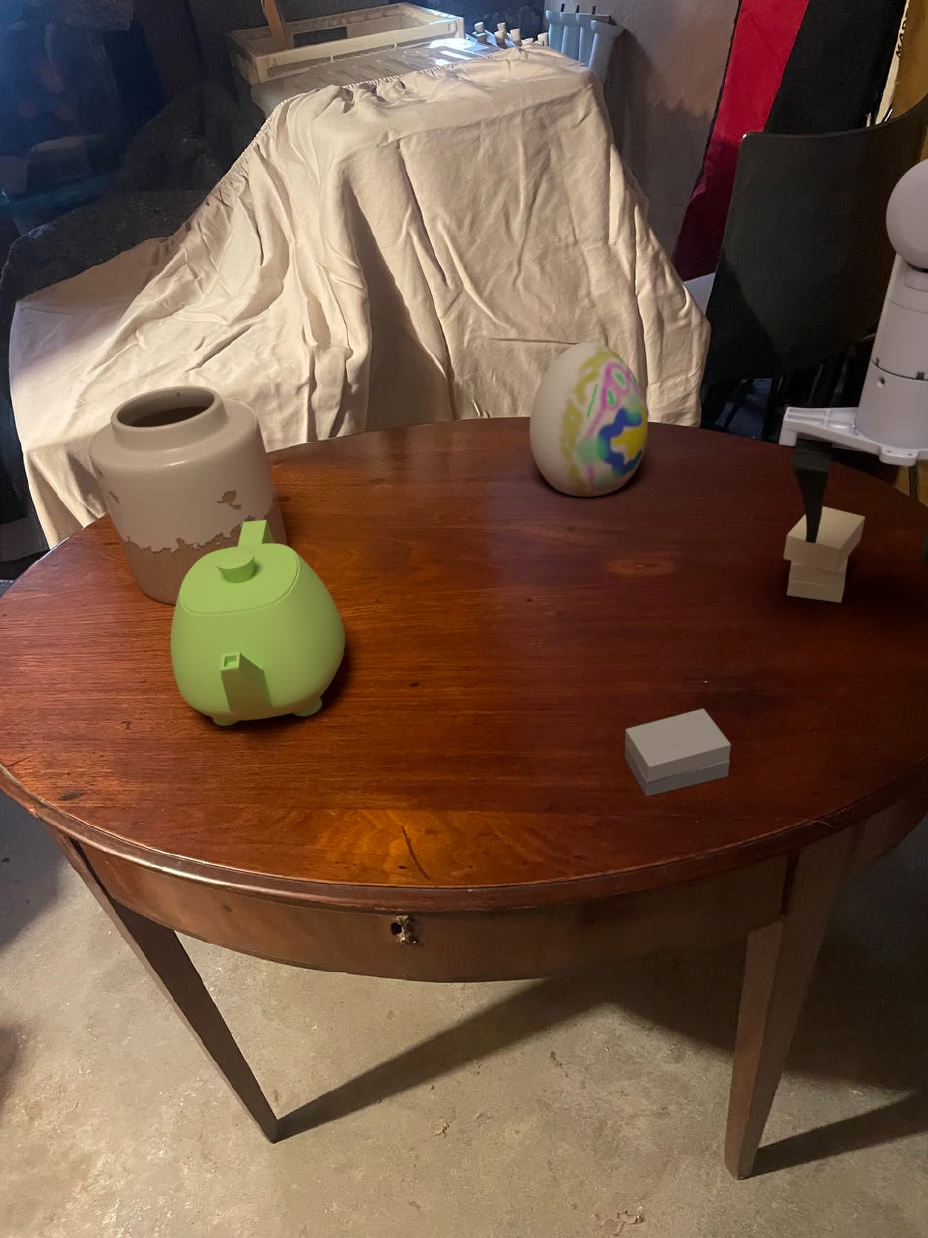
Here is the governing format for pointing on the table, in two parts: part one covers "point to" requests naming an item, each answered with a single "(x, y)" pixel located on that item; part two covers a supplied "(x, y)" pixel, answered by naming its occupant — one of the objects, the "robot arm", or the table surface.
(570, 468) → the decorative egg
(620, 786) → the table surface
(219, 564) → the teapot
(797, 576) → the cream seamed block
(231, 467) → the vase
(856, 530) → the cream rectangular block
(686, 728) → the grey box
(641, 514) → the table surface
